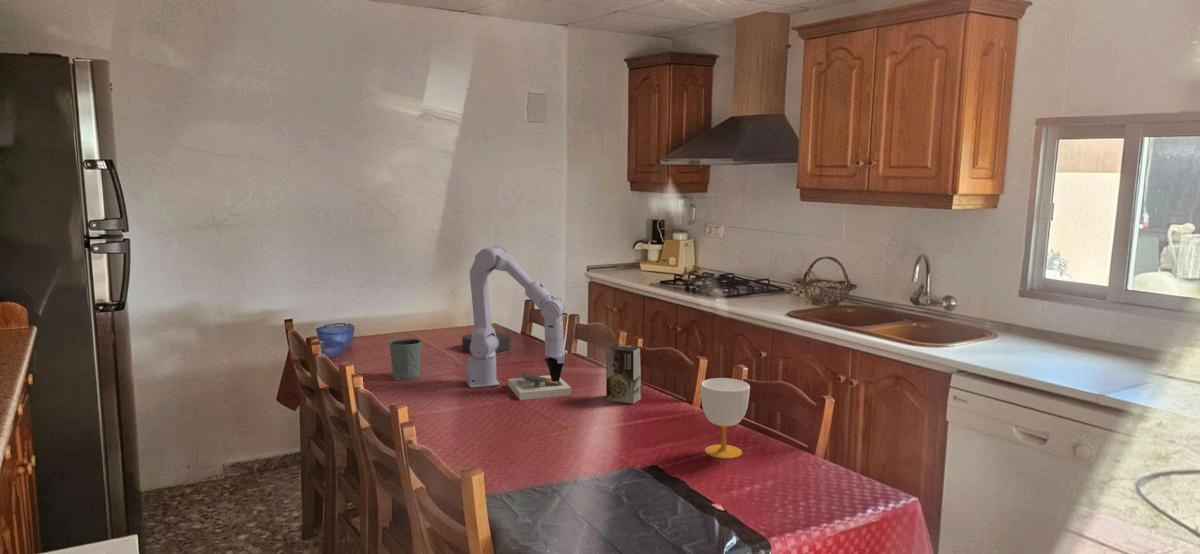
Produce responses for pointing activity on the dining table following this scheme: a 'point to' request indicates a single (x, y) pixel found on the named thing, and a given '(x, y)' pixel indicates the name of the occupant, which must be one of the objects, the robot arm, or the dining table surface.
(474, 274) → the robot arm
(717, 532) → the dining table surface
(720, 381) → the cup
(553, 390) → the breaker housing
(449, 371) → the dining table surface
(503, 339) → the streaming box
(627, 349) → the coffee box
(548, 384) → the rocker
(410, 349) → the green plant pot
